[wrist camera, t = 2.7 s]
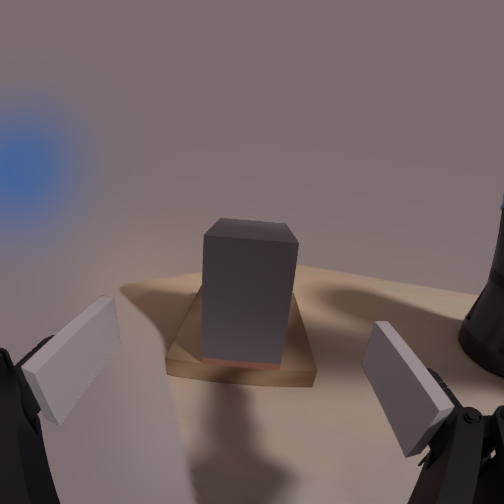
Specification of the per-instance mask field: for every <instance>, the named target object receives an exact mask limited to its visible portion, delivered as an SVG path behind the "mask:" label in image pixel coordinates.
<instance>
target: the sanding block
mask: <svg viewBox="0 0 504 504" xmlns="http://www.w3.org/2000/svg"><path fill="white" fill-rule="evenodd" d="M298 246H299V243H298V241H297V240H296V238H295V236H294V235H293V234H292V232H291V231H290V229H289V227H288V226H287V224H283V223H273V222H262V221H250V220H238V219H225V218H220V219H219V220H218V221H217V222H216V223H215V224H214V225H213V227H211V228H210V229H209V230H208V231H207V232H206V233H205V234H204V244H203V273H202V363H204V364H212V365H221V366H231V367H242V368H255V369H272V370H280V365H281V359H282V354H283V348H284V342H285V336H286V330H287V324H288V318H289V311H290V305H291V298H292V291H293V284H294V277H295V270H296V262H297V253H298Z"/></svg>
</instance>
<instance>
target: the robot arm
mask: <svg viewBox="0 0 504 504" xmlns="http://www.w3.org/2000/svg"><path fill="white" fill-rule="evenodd" d="M501 210H502V215H501V222H500V228H499V234H498V240H497V245H496V250H495V254H494V258H493V263H492V267H491V271H490V275H489V279H488V282H487V284H486V286H485V288H484V289H483V291H482V292H481V294H480V296H479V297H478V299H477V300H476V302H475V303H474V305H473V306H472V308H471V310H470V311H469V313H468V314H467V315H466V317H465V318H464V321H463V323H462V326H461V329H460V331H459V341H460V343H461V345H462V347H463V348H464V350H465V351H466V352H467V353H468V354H469V356H471V357H472V358H473V359H474V360H475V361H476V362H477V363H479V364H480V365H482V366H483V367H485V368H486V369H488V370H490V371H491V372H493V373H496V374H498V375H500V376H503V377H504V195H503V203H502V205H501ZM119 344H120V337H119V331H118V325H117V317H116V310H115V301H114V298H113V297H107V296H101V297H99V298H98V299H97V300H96V301H95V302H93V303H92V304H91V305H90V306H89V307H87V308H86V309H85V310H84V311H83V312H81V313H80V314H79V315H78V316H77V317H76V318H75V319H73V320H72V321H71V322H70V323H69V324H67V325H66V326H65V327H64V328H63V329H62V330H61V331H59V332H58V333H57V334H56V335H52V336H50V337H48V338H46V339H44V340H43V341H41V342H40V343H39V344H38V345H37V347H35V348H34V349H33V350H32V352H31V351H30V352H29V353H28V354H27V355H26V356H25V357H24V358H23V359H21V360H20V361H19V362H18V363H17V364H16V365H15V366H14V365H13V363H12V361H11V358H10V355H9V353H8V351H7V350H5V349H4V348H0V504H60V501H59V498H58V496H57V493H56V490H55V486H54V483H53V479H52V476H51V472H50V468H49V465H48V461H47V456H46V452H45V447H44V442H43V437H42V430H41V424H40V419H39V417H38V415H37V414H38V413H39V411H40V410H41V411H42V412H43V414H44V416H45V418H46V419H47V420H49V421H50V422H53V423H55V424H56V425H58V426H61V424H62V423H63V421H64V420H65V418H66V417H67V415H68V414H69V413H70V411H71V410H72V408H73V407H74V405H75V404H76V402H77V401H78V399H79V398H80V397H81V395H82V394H83V393H84V391H85V390H86V388H87V387H88V386H89V384H90V383H91V382H92V380H93V379H94V377H95V376H96V375H97V373H98V372H99V371H100V369H101V368H102V367H103V365H104V364H105V363H106V361H107V360H108V359H109V357H110V356H111V355H112V353H113V352H114V351H115V349H116V348H117V347H118V345H119ZM361 366H362V368H363V370H364V372H365V374H366V375H367V377H368V379H369V381H370V383H371V385H372V387H373V389H374V392H375V394H376V396H377V398H378V400H379V402H380V404H381V406H382V408H383V410H384V412H385V414H386V416H387V418H388V421H389V423H390V425H391V427H392V429H393V431H394V433H395V436H396V438H397V440H398V442H399V444H400V447H401V449H402V451H403V453H404V456H405V458H407V457H410V456H414V455H417V454H420V453H421V452H422V451H423V450H424V449H425V447H426V446H427V445H429V447H430V449H431V450H430V451H429V452H428V454H427V455H426V456H425V457H424V458H423V459H422V461H421V462H420V463H419V465H418V466H421V465H422V464H423V462H424V465H423V468H422V470H421V473H420V475H419V478H418V480H417V483H416V485H415V488H414V490H413V492H412V495H411V497H410V499H409V501H408V503H407V504H504V405H503V406H499V407H498V408H497V409H496V411H495V412H494V413H493V415H488V416H482V414H481V413H480V412H479V411H478V410H477V409H475V408H472V407H464V408H463V406H462V405H461V404H460V402H459V401H458V400H457V398H456V397H455V396H454V394H453V393H452V392H451V390H450V389H449V388H447V385H446V384H445V383H443V380H442V379H441V378H440V376H439V375H438V374H437V373H435V372H434V371H433V370H431V369H430V368H425V366H424V365H423V364H422V362H421V361H420V360H419V359H418V357H417V356H416V355H415V354H414V352H413V351H412V350H411V349H410V347H409V346H408V345H407V344H406V343H405V341H404V340H403V339H402V338H401V336H400V335H399V334H398V333H397V332H396V330H395V329H394V328H393V327H392V326H391V324H390V323H389V322H388V321H375V323H374V326H373V330H372V333H371V336H370V339H369V342H368V346H367V349H366V352H365V355H364V357H363V360H362V363H361ZM494 450H495V452H496V455H495V456H494V457H493V458H491V453H492V452H493V451H494Z"/></svg>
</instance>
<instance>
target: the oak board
mask: <svg viewBox="0 0 504 504" xmlns="http://www.w3.org/2000/svg"><path fill="white" fill-rule="evenodd" d="M165 361H166V370H167V375H173V376H179V377H185V378H192V379H199V380H207V381H215V382H224V383H234V384H246V385H261V386H284V387H313V383H314V380H315V376H316V373H317V369H316V365H315V362H314V359H313V355H312V352H311V348H310V345H309V342H308V338H307V335H306V331H305V328H304V325H303V321H302V318H301V315H300V312H299V308H298V305H297V302H296V299H295V295H294V293H292V298H291V305H290V311H289V318H288V324H287V330H286V336H285V342H284V348H283V354H282V359H281V365H280V370H272V369H255V368H242V367H231V366H221V365H212V364H204V363H202V285H201V287H200V289H199V291H198V293H197V295H196V297H195V299H194V301H193V303H192V305H191V307H190V309H189V311H188V313H187V315H186V317H185V319H184V321H183V323H182V325H181V327H180V329H179V331H178V333H177V335H176V337H175V339H174V341H173V343H172V345H171V347H170V349H169V351H168V353H167V355H166V357H165Z"/></svg>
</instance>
